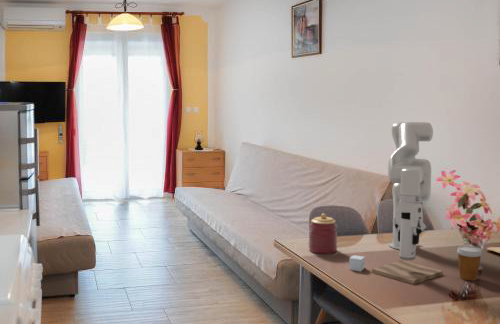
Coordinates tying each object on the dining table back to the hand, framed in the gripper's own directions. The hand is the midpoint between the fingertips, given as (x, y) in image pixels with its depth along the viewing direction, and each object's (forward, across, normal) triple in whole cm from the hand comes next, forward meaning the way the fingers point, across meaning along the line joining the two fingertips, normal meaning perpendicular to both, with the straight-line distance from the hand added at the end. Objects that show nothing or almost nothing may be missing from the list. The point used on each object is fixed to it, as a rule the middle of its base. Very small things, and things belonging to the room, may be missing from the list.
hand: (408, 242), depth 240 cm
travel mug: (+7, 0, 0) cm, 7 cm away
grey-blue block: (+13, +17, +11) cm, 24 cm away
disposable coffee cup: (+13, -19, -14) cm, 27 cm away
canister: (+13, +46, +1) cm, 48 cm away
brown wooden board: (+13, 0, 0) cm, 13 cm away
